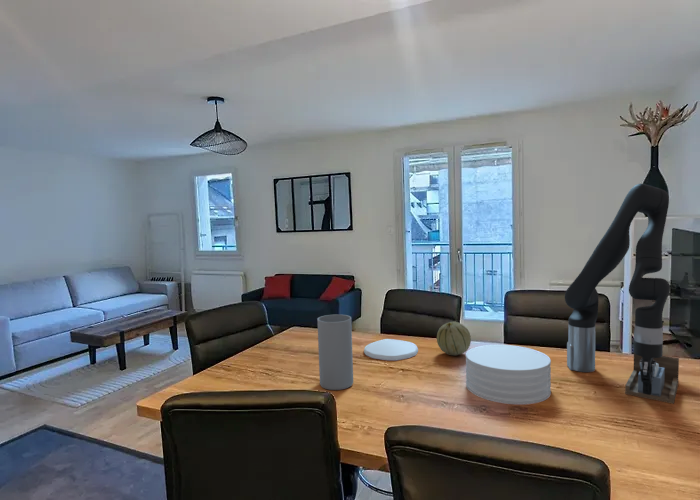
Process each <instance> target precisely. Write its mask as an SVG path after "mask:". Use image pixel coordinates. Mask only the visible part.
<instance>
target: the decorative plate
mask: <svg viewBox="0 0 700 500" xmlns="http://www.w3.org/2000/svg"><path fill="white" fill-rule="evenodd" d="M363 353H364V355H366V356H367V357H369V358H371V359H374V360H375V359H377V360H382V361H401V360H406V359H410V358H413V357H415V356H417V354H418V353H419V348H418V346H417V344H415V343H413V342H412V341H408V340H407V341H406V340H402V339H393V338H384V339H380V340H376V341H374V342H370V343H368V344H367V345H366V346H364V349H363Z"/></svg>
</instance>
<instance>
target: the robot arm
mask: <svg viewBox="0 0 700 500" xmlns="http://www.w3.org/2000/svg"><path fill="white" fill-rule="evenodd" d="M669 204H670V196H669V193H668V192H667V191H666V190H664V189H663V188H660V187H655V186H653V185H649V184H645V183H638V184H635V185H634V186H632V187H631V188H630V189H629V191H628V192H627V194H626V195H625V197H624V199H623V201H622V203H621V205H620V207H619V209H618V210H617V213H616V214H615V216H614V219H613V220H612V222H611V224H610V225H609V227H608V228H607V230H606V232H605V233H604V235H603V236H602V238H601V239H600V241H599V242H598V243H597V245H596V246H595V248H594V250H593V252H592V254H591V255H590V257H589V258H588V260H587V261H586V263H585V265H584V267H582V269H581V272H579V274H578V275H577V276H576V278H575V279H574V280H573V281H572V283H571V284H570V285H569V286H568V288H567V289H566V290H565V293H564V302H565V304H566V305H567V306H568V307H569V308H571V309H573V310H572V313H571V314H570V316H568V321H567V322H568V335H567V336H568V341H567V342H566V365H567V368H569V370H570V371H576V372H579V373H592V372H595V370H596V323H597V320H598V315H599V302H600V301H599V293H598V290H597V289H596V288H597V286H598V285H599V284H600V283H601V281H603V280H604V278H606V277H607V276H608V275H609V274H611V273H612V272H613V271H614V270H615V269H616V268H617V267H618V266H619V265H620V263H621V262H622V260H624V257H626V255H627V253H628V251H630V250H629V249H630V241H631V240H630V239H631V238H630V230H631V229H630V227H631V225H632V223H633V220H634V218H636V215H637V214H638V213H641V214H645V215H647V221H648V222H647V227H646V228H645V230H644V232H643V234H642V235H641V236H640V237H639V239H638V241H637V243H636V246H635V263H634V264H635V265H634V272H633V274H632V278H631V280H630V283H629V285H628V294H629V296H630V297H631V298H632V299H635V300H642V301H643V300H645V301H654V303H653V304H651V305H645V306H639V307H637V308H636V309H635V312H634V315H635V317H634V330H633V354H634V353H635V354H636V355H639V356H642V359H641V361H640V374H641V381H642V382H643V393H644V394H647V395H651V393H652V381H653V378H654V374H655V366H656V361H653V358H660V357H662V356H664V353H663V348H664V345H663V343H664V332H663V331H662V328H663V327H662V321H663V311H664V308H665V304H666V302H667V300H668V297H669V295H670V290H671V286H670V283H669V282H668V280H666V278H661V277H655V278H654V277H644V276H645V275H648V274H653V273H654V274H655V273H658V272H660V271H661V270H662V269H663V237H664V231H665V226H666V220H667V217H668V210H669V206H670V205H669Z"/></svg>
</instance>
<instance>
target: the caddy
mask: <svg viewBox="0 0 700 500" xmlns="http://www.w3.org/2000/svg"><path fill="white" fill-rule="evenodd" d="M664 377H665V368H662V367H659V364H658V363H656V366H655V374H654V378H653V381H652V393H651V395H655V396H661V393H662V390H663V387H664ZM638 392H640V393H643V382H642V381H641V374H640V372H639V374H638Z"/></svg>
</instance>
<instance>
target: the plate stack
mask: <svg viewBox="0 0 700 500" xmlns="http://www.w3.org/2000/svg"><path fill="white" fill-rule="evenodd" d="M551 363H552V360H551V358H550V357H549V355H547V354H545V353H544V352H542V351H538V350H536V349H533V348H530V347H525V346H518V345H510V344H485V345H479V346H478V345H477V346H476V347H475V346H474V347H472V348H470V349H468V350H467V351H466V352H465V373H466V374H465V381H466V382H465V385H466V389H467V390H468V391H469V392H470V393H472V394H473V395H474V396H477V397H479V398H482V399H484V400H487V401H491V402H494V403H499V404H506V405H507V404H508V405H531V404H538V403H541V402H544V401H546V400H548V399H549V398H550V396H551V395H552V393H551V392H552V390H551V387H552V386H551V385H552V382H551V372H552V370H551V369H552V367H551V365H552V364H551Z"/></svg>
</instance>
